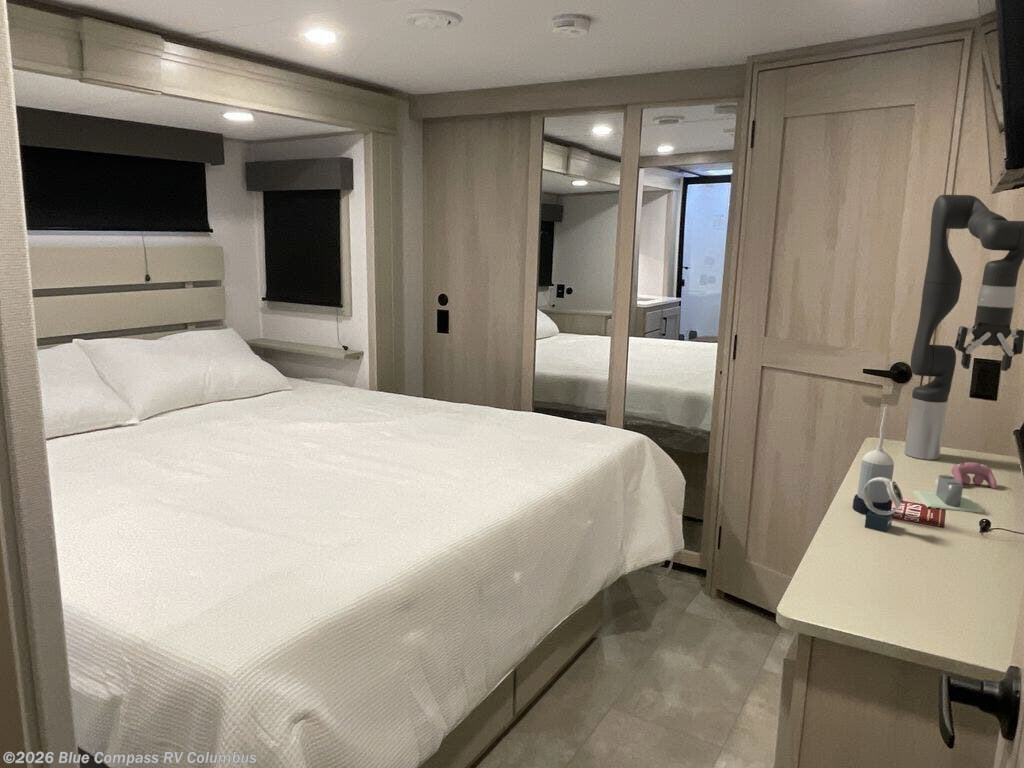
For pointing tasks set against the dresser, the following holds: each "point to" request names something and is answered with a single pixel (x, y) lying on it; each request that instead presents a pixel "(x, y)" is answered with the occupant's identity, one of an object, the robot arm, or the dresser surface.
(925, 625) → the dresser surface
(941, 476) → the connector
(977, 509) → the mat
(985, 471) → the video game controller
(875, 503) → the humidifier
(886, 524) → the watch
